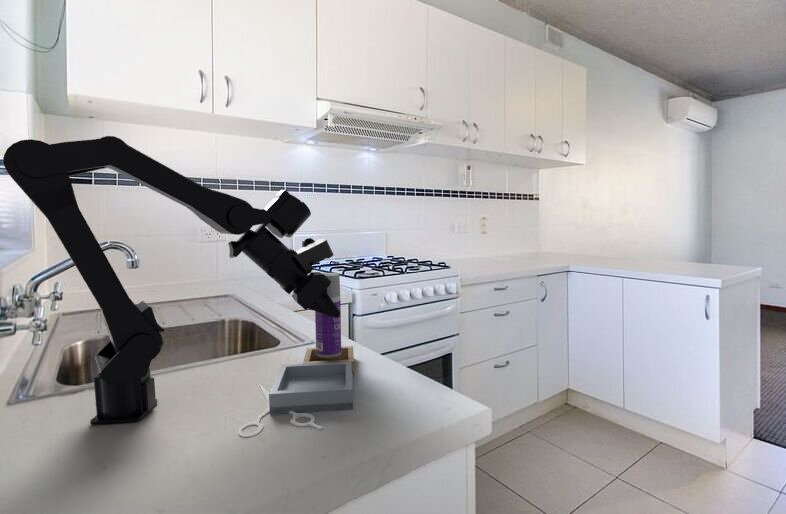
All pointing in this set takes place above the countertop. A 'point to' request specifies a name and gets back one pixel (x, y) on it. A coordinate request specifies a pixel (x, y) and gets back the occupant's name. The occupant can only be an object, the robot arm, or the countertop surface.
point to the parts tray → (312, 388)
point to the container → (329, 323)
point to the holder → (345, 355)
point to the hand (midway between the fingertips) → (335, 313)
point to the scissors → (256, 422)
